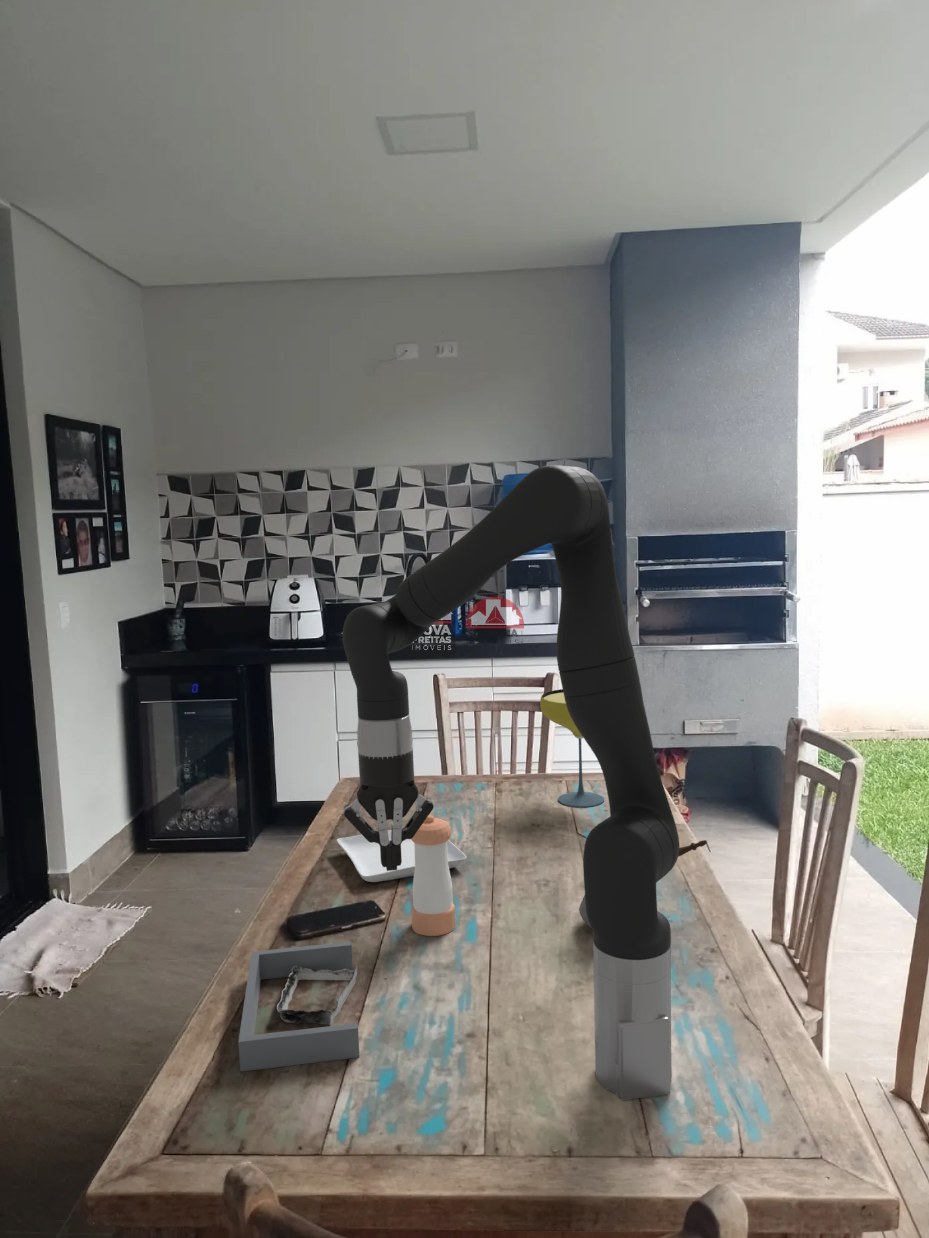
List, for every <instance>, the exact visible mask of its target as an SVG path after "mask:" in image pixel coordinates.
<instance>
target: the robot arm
mask: <svg viewBox="0 0 929 1238" xmlns="http://www.w3.org/2000/svg"><path fill="white" fill-rule="evenodd" d="M608 503H609V502H608V498H607V494H606V491H605V488H604V486H603V485H602V482H600V480H599V479H598V478H597V476H595V474H593V473H592V472H591V471H589V470H587V469H585V468H583V467H579V466H572V465H570V466H569V465H559V464H549V465H544V466H539V467H538V468H534V469H533V470H532V471H530V472H529V473H528V474H526V475H525V476H524V477H523V478H522V479H521V480H519V482H518V483H517V484H516V485H515V486H513V488H512V489H510V491H509V492H508V493H507V494H506V495H505V496H504V497H503V498H502V499H501V501H499V502H498V503H497V505H496V506H495V507H494V508H493V509H492V510H491V511H490V512H489V513H488V514H487V515H486V516H484V518H482V519H481V520H480V521H479V522H477V524H476V525H475V526H474V527H472V528H471V529H470V530H469V531H468V532H467V533H465V535H463V536H462V537H461V538H459V539H458V540H457V541H455V542H454V543H453V544H452V545H450V546H449V547H447V548H446V549H445V550H443V552H441V553H439V554H438V555H437V556H435V557H434V558H432V559H431V560H430V561H428V562H426V563H425V564H424V565H423V566H421V567H419V568H418V569H417V570H415V571H414V572H412V573H411V574H409V575H408V576H407V577H406V578H405V579H404V580H402V582H401V583H400V584H399V585H398V587H397V589H396V594H395V595H394V596H392V597H391V598H389V599H387V600H385V601H382V602H379V603H374V604H367V605H362V606H358V607H356V608H354V609H352V611H350V612H349V613H348V615H347V616H346V618H345V620H344V623H343V626H342V627H343V628H342V645H343V648H344V653H345V657H346V660H347V663H348V667H349V669H350V672H351V676H352V678H353V679H352V680H353V682H354V684H355V687H356V704H357V705H356V706H357V707H356V708H357V730H356V731H357V733H356V735H357V740H356V745H357V755H358V773H359V775H358V776H359V789H358V791H357V793H356V799H355V800H353V801H352V802H351V803H350V804H345V805H344V806H343V815H344V817H345V819H346V820H348V821H349V823H350V824H351V825H352V826H353V827H354V828H355V829H356V830H357V831H358V832H359V833H360V835H363V836H364V837H365V838H366V840H367V841H368V842H370V843H373V842H375V843H378V844H379V845H380V856H381V864H382V866H383V867H386V869H387V871H392V870H397V866H400V865H401V862H402V858H401V843H402V842H403V841H404V840H406V839H412V838H413V837H414V835H415V834H416V832H417V831H418V830H419V828H420V827H421V825H422V824H423V822H424V821H425V820H426V818H427V817H428V816H429V815H430V814H431V813H432V811H433V810H434V803H433V801H432V799H431V798H430V797H425V796H424V795H422V794H420V793H419V792H420V791H419V788H418V786H417V785H416V783H415V769H414V748H413V745H414V744H413V730H412V725H411V723H412V722H411V718H410V703H409V702H410V701H409V700H410V699H409V686H408V681H407V678H406V676H405V675H404V674H403V673H401V672H400V671H395V670H393V669H392V665H391V661H390V659H389V658H390V657H389V654H392V653H395V652H398V651H401V650H403V649H405V648H407V647H408V646H409V645H411V644H413V643H414V642H416V641H417V640H418V639H419V638H420V637H421V636H422V635H423V634H425V633H426V632H427V631H428V630H429V629H430V628H431V627H432V625H433V624H435V623H436V622H438V621H441V620H442V619H443V618H445V617H447V615H449V614H451V613H452V612H454V611H456V609H458V608H460V607H461V606H462V605H464V604H465V603H467V602H468V601H469V600H471V599H472V598H473V597H474V596H475V595H476V594H477V593H479V592H480V590H481V589H482V588H483V587H484V586H485V585H486V584H487V583H488V582H489V581H490V579H491V578H493V576H494V575H495V574H496V573H497V572H498V571H500V570H501V569H502V568H504V567H505V566H506V565H508V564H509V563H511V562H512V561H514V560H516V559H517V558H519V557H521V556H523V555H525V554H527V553H530V552H532V551H534V550H536V549H539V548H541V547H543V546H545V545H549V544H551V547H552V551H553V554H554V558H555V561H556V563H555V564H556V566H557V571H558V575H559V583H560V592H561V593H560V607H559V616H558V617H559V618H558V626H557V633H556V634H557V635H556V648H555V649H556V662H557V668H558V672H559V678H560V683H561V687H562V688H561V689H563V693H564V698H565V702H566V706H567V709H568V712H569V714H570V716H571V718H572V720H573V722H574V724H575V725H576V727H577V729H578V730H579V732H580V733H581V735H582V736H583V738H582V739H584V741H585V742H586V744H587V745H588V747H589V748H590V749H591V752H593V754H594V756H595V757H596V760H597V762H598V764H599V765H600V769H601V771H602V775H603V778H604V782H605V787H606V793H607V797H608V798H607V799H608V805H609V814H610V815H609V817H607V818H605V819H604V820H602V821H601V822H599V823H597V824H596V825H595V826H594V827H593V828H592V829H591V830H590V831H589V833H588V834H587V836H586V838H585V839H586V840H585V843H584V846H583V855H582V856H583V857H582V860H583V861H582V866H583V867H582V868H583V869H582V870H583V884H584V886H583V887H584V895H585V903H586V913H587V918H588V921H589V923H590V925H591V927H590V928H591V929H592V930H591V931H592V942H593V944H592V945H593V948H592V949H593V998H594V999H593V1004H594V1005H593V1007H594V1011H593V1012H594V1013H593V1016H594V1019H593V1020H594V1021H593V1022H594V1062H595V1063H594V1065H595V1066H594V1067H595V1076H596V1077H595V1078H596V1079H597V1081H598V1082H599V1084H600V1085H602V1086H603V1087H604V1088H605V1089H606V1090H608V1091H610V1092H612V1093H614V1094H616V1095H617V1096H618V1097H619V1099H620V1100H622V1101H625V1100H633V1099H634V1100H635V1099H641V1098H649V1097H656V1096H664V1095H669V1094H671V1083H672V1078H673V1077H672V1075H673V1074H672V1073H673V1072H672V1071H673V1069H672V1066H673V1065H672V971H671V970H672V950H671V949H672V946H671V945H672V942H671V941H672V935H671V934H672V932H671V931H672V928H671V925H670V921H669V920H668V918H667V917H666V916H665V915H664V914H663V913H662V912H660V911H658V904H657V903H658V901H657V883H658V882H659V881H660V880H661V879H663V878H664V877H666V876H667V874H669V873H670V872H671V871H672V869H673V868H674V867H675V865H676V863H677V860H678V858H679V857H678V854H679V848H680V837H679V832H678V829H677V824H676V821H675V819H674V815H673V812H672V808H671V805H670V803H669V800H668V796H667V793H666V789H665V786H664V784H663V781H662V778H661V774H660V771H659V768H658V764H657V761H656V756H655V751H654V746H653V740H652V735H651V730H650V726H649V722H648V717H647V712H646V708H645V707H646V706H645V704H644V697H643V692H642V684H641V681H640V680H641V679H640V675H639V671H638V665H637V662H636V657H635V652H634V647H633V644H632V640H631V635H630V631H629V626H628V621H627V618H626V613H625V607H624V604H623V599H622V594H621V590H620V588H619V587H620V586H619V583H618V578H617V572H616V565H615V558H614V548H613V541H612V540H613V537H612V529H611V519H610V512H609V504H608ZM414 803H415V804H414ZM413 805H414V808H415V811H414V813H413V814H412V816H411V817H410V818H409V820H408V822H407V823H406V824H405V825H404V827H403V818H405V817H406V816H407V814H408V813H409V811H410V810H411V809H412V807H413ZM361 807H362V808H363V809H364V811H366V812H367V814H368V815H369V816H370V817H371V818H372V819H373V820H375V821H376V822H377V828H378V829H377V830H375V829H374V828H373V827H372V826H371V825H370V824H369V823H368V822H367V821H366V820H365V819H364V818H363V817H362V816H363V811H362V809H361ZM390 820H391V824H390V825H391V829H390V830H391V840H390V841H389V837H388V830H389V828H388V823H387V822H388V821H390Z"/></svg>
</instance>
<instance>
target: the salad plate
mask: <svg viewBox="0 0 929 1238" xmlns="http://www.w3.org/2000/svg"><path fill="white" fill-rule="evenodd" d="M388 837H389V841H390V840H391V829H388ZM336 844H338V846H339V847H340V848H341V850H342V851H343V852H344V853H345V854H346V855H347V856H348V857H349V860H351V862H352V863H353V866H354V868H355V870H356V872H357V874H359V876H360V878H362V879H363V881H366V882H369V883H379V882H386V881H387V882H388V881H391V880H392V881H394V880H397V879H403V878H409V877H414V871H415V850H414V842H413V841H412V840H411V839H406V840H404V841H403V842H402V843H401V858H402V862H401V865H400V866H397V870H392V871H387V869H386V867H383V866H382V864H381V856H380V845H379V844H378V843H375V842H373V843H370V842H368V841H367V840H366V838H365V837H364V836H363V835H362V834H357V835H352V836H346V837H340V838H337V839H336ZM447 852H448V866H449V870H450V869H453V868H455V867H458V866H460V865H462V864H463V863H464V862H465V861H466V860H467V855H466V854H465V853H464V852H463V851H462V850H461V849H459V848H458V847H457V846H456V845H455V844H454V843H453V842H452V841H451V840H450V839H449V840H448V841H447Z"/></svg>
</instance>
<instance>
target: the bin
mask: <svg viewBox="0 0 929 1238" xmlns="http://www.w3.org/2000/svg"><path fill="white" fill-rule="evenodd" d="M250 953H251V954H250V961H249V968H248V973H247V974H248V975H247V980H246V981H247V982H246V987H245V994H244V1001H243V1009H242V1016H241V1021H240V1022H241V1023H240V1028H239V1033H238V1054H239V1055H238V1056H239V1058H238V1059H239V1070H240V1072H247V1071H249V1072H250V1071H255V1070H264V1069H272V1068H274V1069H275V1068H280V1067H282V1068H283V1067H289V1066H297V1065H306V1064H314V1063H323V1062H329V1061H339V1060H347V1059H354V1058H357V1059H358V1058H360V1043H359V1042H360V1039H359V1038H360V1037H359V1026H358V1025H359V1024H358V1022H357V1023H356V1022H355V1023H347V1024H346V1023H345V1024H338V1025H327V1026H322V1027H321V1026H320V1027H312V1028H305V1029H304V1028H303V1029H294V1030H287V1031H277V1032H270V1033H269V1032H268V1033H260V1034H256V1033H255V1031H256V1026H257V1016H258V1015H257V1014H258V1007H259V1000H260V991H261V982H262V981H261V980H269V979H270V980H271V979H282V978H290V977H289V975H290V973H292V967H294V966H295V965H297V968H299V967H302V969H304V968H309V969H311V970H312V971H315V973H316V971H318V970H331V971H338V970H342V969H348V970H354V969H353V967H354V965H353V947H352V941H343V942H333V943H325V944H324V943H323V944H315V945H305V946H296V947H295V946H294V947H285V948H275V949H264V950H256V951H251V952H250Z"/></svg>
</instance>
